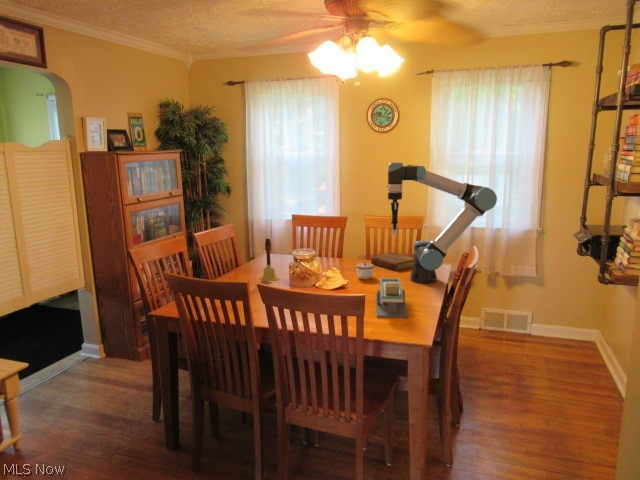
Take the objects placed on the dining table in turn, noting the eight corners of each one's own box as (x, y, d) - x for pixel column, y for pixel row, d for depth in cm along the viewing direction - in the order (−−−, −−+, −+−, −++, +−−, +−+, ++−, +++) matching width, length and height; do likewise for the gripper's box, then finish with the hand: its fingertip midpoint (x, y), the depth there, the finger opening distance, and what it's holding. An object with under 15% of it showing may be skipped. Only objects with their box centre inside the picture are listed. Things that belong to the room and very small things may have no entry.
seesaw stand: (402, 295, 239) (403, 281, 238) (407, 318, 208) (408, 301, 207) (375, 295, 241) (376, 280, 239) (376, 317, 210) (377, 300, 208)
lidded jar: (373, 280, 268) (373, 265, 266) (355, 279, 270) (354, 264, 268) (374, 275, 278) (374, 260, 276) (357, 275, 280) (357, 260, 278)
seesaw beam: (399, 284, 236) (399, 278, 236) (403, 303, 209) (403, 296, 209) (379, 284, 237) (380, 278, 237) (381, 303, 210) (381, 296, 210)
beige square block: (398, 293, 217) (398, 283, 216) (398, 297, 211) (399, 287, 210) (385, 293, 218) (385, 283, 217) (385, 297, 212) (385, 286, 211)
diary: (371, 265, 305) (371, 256, 304) (391, 260, 316) (391, 252, 314) (395, 272, 287) (396, 263, 285) (416, 267, 297) (416, 258, 296)
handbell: (255, 281, 271) (252, 239, 266) (266, 275, 282) (264, 235, 277) (272, 283, 266) (270, 241, 261) (283, 277, 277) (282, 237, 272)
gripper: (387, 190, 251) (387, 233, 255) (388, 193, 238) (387, 237, 243) (401, 190, 250) (400, 233, 255) (403, 193, 237) (402, 237, 242)
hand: (394, 235), depth 249 cm, fingers closed
